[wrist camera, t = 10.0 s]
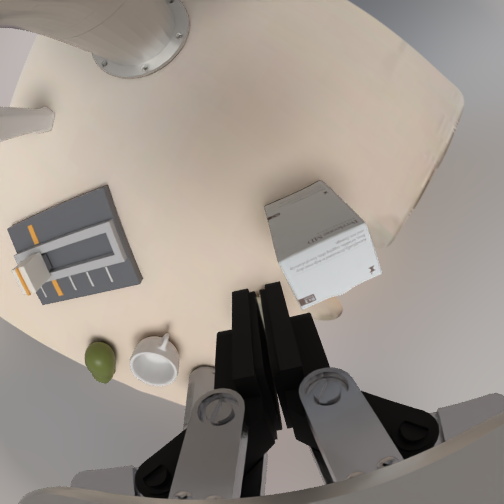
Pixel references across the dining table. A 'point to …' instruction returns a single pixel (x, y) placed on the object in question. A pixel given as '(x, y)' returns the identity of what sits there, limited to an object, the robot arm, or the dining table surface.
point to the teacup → (155, 361)
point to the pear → (100, 361)
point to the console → (78, 247)
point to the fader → (32, 273)
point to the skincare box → (320, 244)
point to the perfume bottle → (24, 121)
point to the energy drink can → (198, 388)
